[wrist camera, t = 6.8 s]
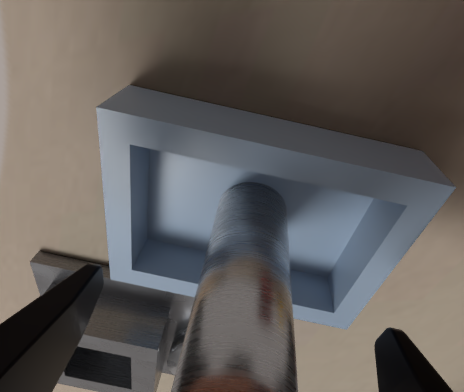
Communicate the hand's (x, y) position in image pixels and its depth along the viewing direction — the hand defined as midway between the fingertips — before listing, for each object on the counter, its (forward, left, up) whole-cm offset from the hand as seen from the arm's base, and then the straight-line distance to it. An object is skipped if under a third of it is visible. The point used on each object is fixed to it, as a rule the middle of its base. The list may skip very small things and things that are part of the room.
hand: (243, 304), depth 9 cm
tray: (0, 0, -5) cm, 5 cm away
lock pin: (0, 0, -5) cm, 5 cm away
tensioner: (+4, +11, -5) cm, 13 cm away
